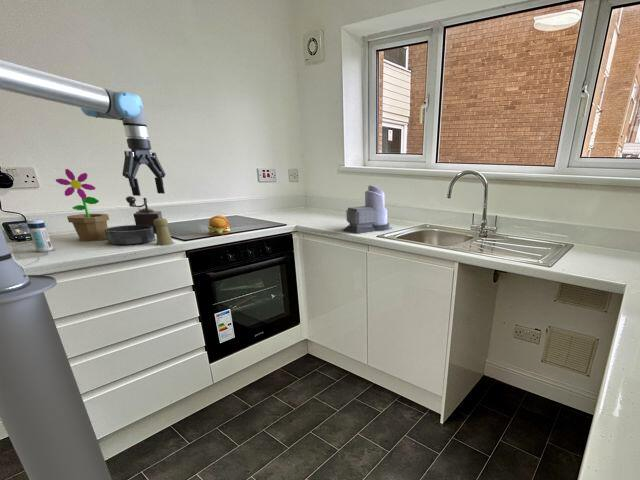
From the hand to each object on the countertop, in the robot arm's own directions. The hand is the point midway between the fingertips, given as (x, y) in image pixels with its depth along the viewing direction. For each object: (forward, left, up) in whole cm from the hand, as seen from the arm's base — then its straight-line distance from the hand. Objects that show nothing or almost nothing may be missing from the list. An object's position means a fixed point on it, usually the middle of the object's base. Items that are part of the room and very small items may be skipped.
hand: (149, 194), depth 145 cm
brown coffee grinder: (+25, +24, -21) cm, 41 cm away
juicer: (+61, -83, -21) cm, 105 cm away
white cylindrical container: (-19, +33, -21) cm, 44 cm away
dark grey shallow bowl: (+3, +15, -21) cm, 26 cm away
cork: (+2, -1, -21) cm, 21 cm away
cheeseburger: (+29, -11, -21) cm, 37 cm away
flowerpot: (+5, +35, -21) cm, 42 cm away
